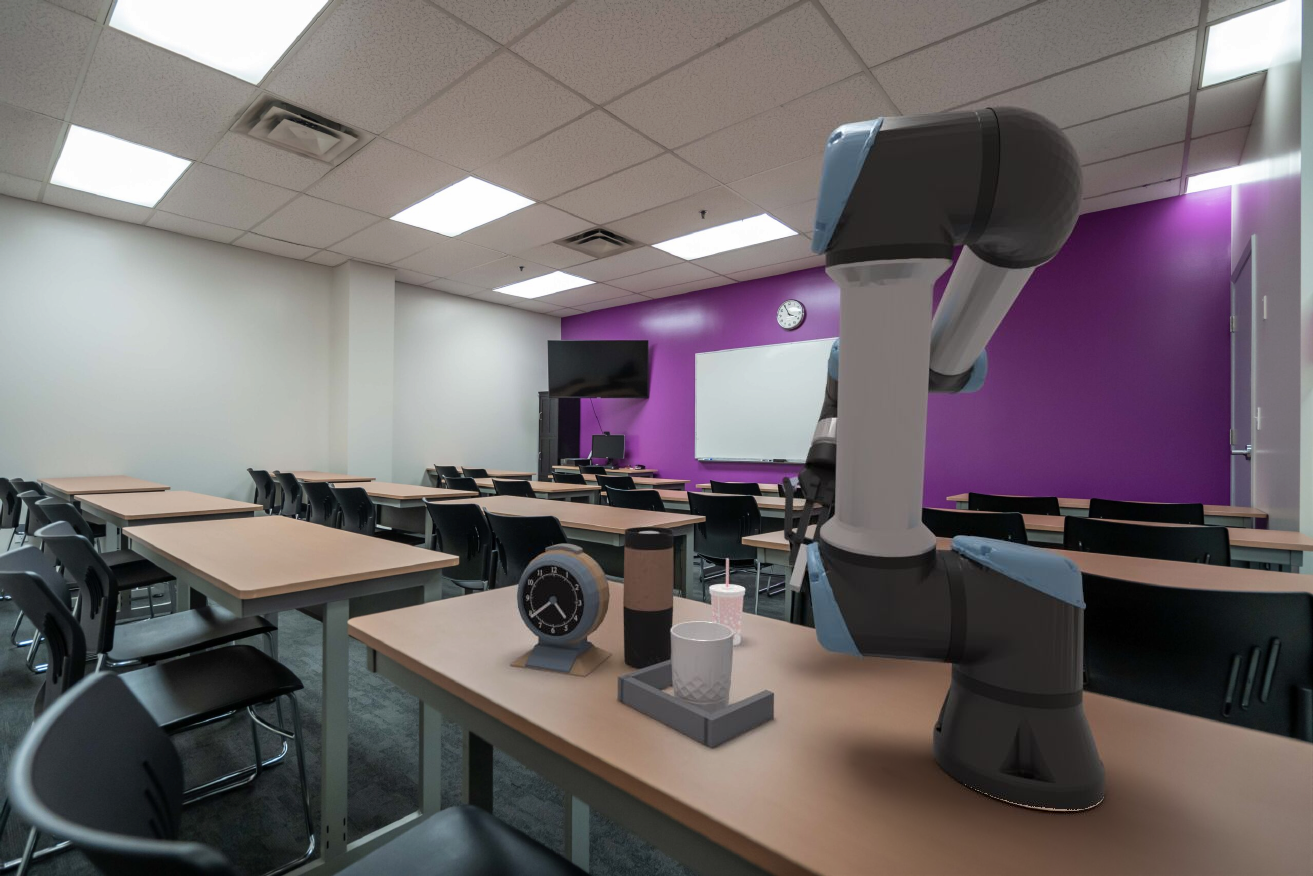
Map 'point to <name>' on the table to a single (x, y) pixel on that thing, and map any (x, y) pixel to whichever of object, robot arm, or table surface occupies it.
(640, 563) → the travel mug
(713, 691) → the white cup
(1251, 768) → the table surface
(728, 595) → the beverage cup
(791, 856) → the table surface
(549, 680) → the table surface
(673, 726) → the corral
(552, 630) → the alarm clock
